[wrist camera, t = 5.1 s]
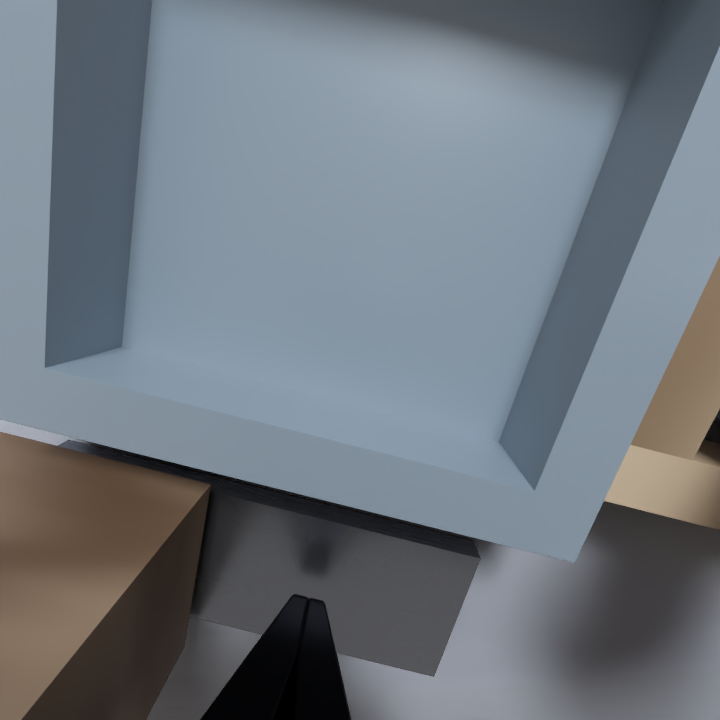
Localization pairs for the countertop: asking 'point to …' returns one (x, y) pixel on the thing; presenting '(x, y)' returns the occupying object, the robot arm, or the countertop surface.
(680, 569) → the countertop surface
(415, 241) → the tray
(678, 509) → the socket
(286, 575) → the rail
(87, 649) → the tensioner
